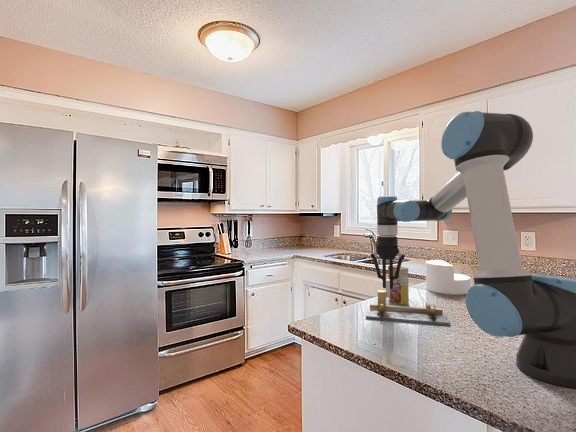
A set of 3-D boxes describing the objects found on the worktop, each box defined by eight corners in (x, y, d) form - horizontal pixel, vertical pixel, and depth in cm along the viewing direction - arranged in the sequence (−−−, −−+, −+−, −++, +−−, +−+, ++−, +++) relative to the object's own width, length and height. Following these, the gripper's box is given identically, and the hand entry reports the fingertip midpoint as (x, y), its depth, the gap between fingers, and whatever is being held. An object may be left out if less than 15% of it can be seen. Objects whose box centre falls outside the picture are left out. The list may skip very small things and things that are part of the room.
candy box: (387, 299, 145) (387, 265, 145) (396, 299, 146) (395, 264, 146) (400, 305, 136) (400, 268, 136) (409, 304, 137) (408, 268, 137)
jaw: (385, 316, 120) (385, 296, 120) (377, 315, 121) (377, 295, 121) (386, 309, 129) (385, 290, 129) (378, 308, 130) (378, 289, 130)
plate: (450, 325, 111) (450, 322, 111) (365, 318, 119) (365, 315, 119) (446, 318, 119) (446, 315, 119) (367, 312, 127) (367, 309, 127)
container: (477, 295, 151) (477, 266, 151) (431, 293, 155) (431, 265, 154) (462, 285, 171) (462, 260, 171) (421, 284, 174) (421, 259, 174)
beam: (445, 322, 114) (445, 309, 114) (369, 316, 122) (368, 304, 122) (441, 314, 123) (441, 302, 123) (370, 309, 131) (370, 298, 131)
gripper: (404, 235, 128) (405, 295, 129) (370, 235, 132) (371, 293, 133) (405, 236, 121) (406, 300, 122) (369, 236, 125) (370, 297, 125)
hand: (387, 296), depth 127 cm, fingers closed
